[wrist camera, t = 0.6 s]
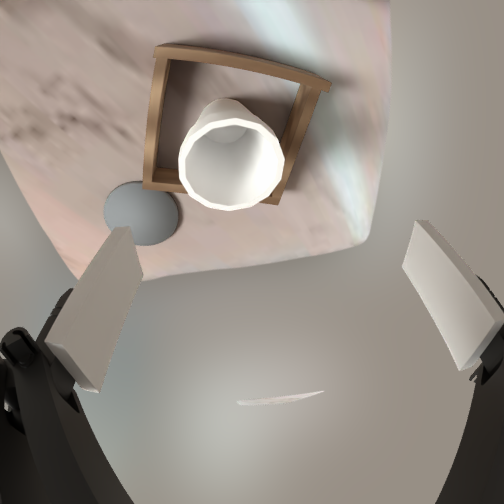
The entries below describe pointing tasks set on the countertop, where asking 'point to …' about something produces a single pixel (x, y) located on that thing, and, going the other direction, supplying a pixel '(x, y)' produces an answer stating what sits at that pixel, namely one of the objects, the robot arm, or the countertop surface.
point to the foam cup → (230, 157)
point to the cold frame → (164, 53)
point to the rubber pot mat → (141, 213)
